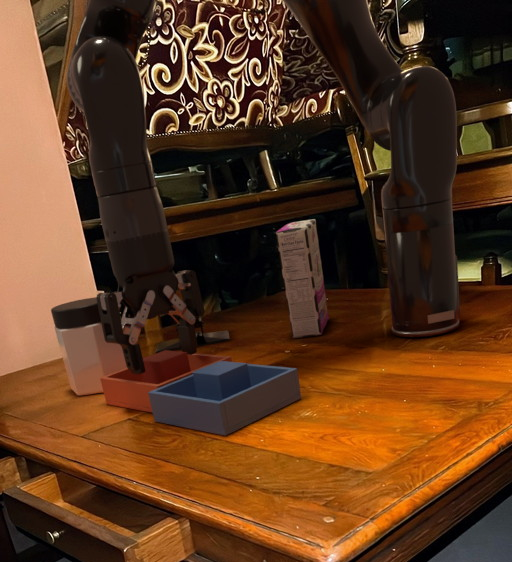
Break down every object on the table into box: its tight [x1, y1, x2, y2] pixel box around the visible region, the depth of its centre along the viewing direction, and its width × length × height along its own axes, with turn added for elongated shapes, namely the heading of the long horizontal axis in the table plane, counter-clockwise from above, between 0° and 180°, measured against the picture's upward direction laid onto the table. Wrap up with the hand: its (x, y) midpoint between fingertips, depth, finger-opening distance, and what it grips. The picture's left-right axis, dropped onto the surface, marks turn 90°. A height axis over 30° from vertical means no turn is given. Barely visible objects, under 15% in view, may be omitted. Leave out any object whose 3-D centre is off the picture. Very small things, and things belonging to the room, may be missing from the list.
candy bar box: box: [275, 218, 330, 339], centre depth 109 cm, size 11×5×16 cm, turn 168°
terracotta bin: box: [100, 353, 233, 414], centre depth 90 cm, size 12×12×4 cm
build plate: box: [155, 317, 231, 354], centre depth 117 cm, size 12×7×5 cm, turn 94°
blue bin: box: [148, 363, 302, 437], centre depth 79 cm, size 12×12×4 cm
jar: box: [50, 296, 127, 396], centre depth 98 cm, size 9×8×12 cm
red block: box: [142, 350, 191, 384], centre depth 89 cm, size 4×4×4 cm
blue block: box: [192, 361, 251, 401], centre depth 79 cm, size 4×4×4 cm
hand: (165, 363), depth 89 cm, fingers open, 8 cm apart
